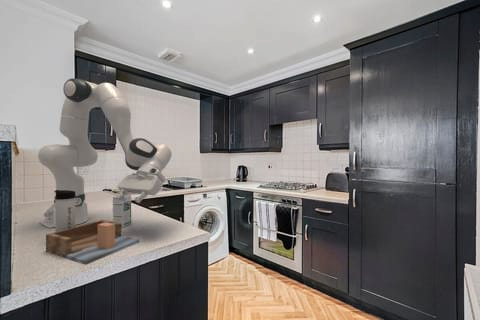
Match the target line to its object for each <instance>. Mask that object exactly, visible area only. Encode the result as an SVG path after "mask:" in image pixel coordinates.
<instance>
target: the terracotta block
mask: <svg viewBox="0 0 480 320" xmlns="http://www.w3.org/2000/svg"><path fill="white" fill-rule="evenodd" d="M114 246H115V224H112V223H107V222H105V223H101V224H98V239H97V247H100V248H104V249H109V248H111V247H114Z"/></svg>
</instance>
